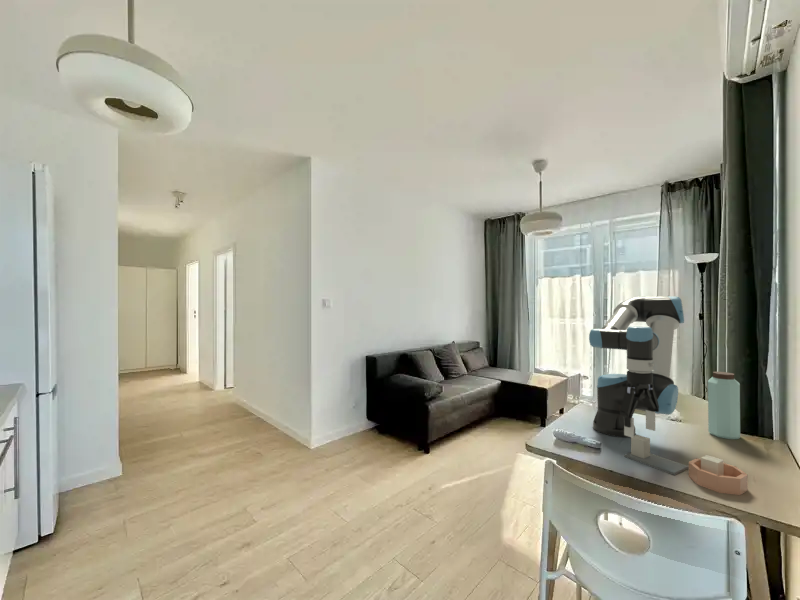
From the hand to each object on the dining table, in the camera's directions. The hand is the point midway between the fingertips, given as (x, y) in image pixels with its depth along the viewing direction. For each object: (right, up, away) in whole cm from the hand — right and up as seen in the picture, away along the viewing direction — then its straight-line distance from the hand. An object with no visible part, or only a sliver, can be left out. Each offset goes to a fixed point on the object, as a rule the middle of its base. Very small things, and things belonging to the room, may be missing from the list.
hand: (640, 432), depth 122 cm
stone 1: (0, -8, 0) cm, 8 cm away
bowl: (+11, -8, -17) cm, 22 cm away
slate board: (+3, -9, -4) cm, 10 cm away
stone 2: (+11, -8, -16) cm, 21 cm away
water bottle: (+46, -8, +19) cm, 50 cm away
